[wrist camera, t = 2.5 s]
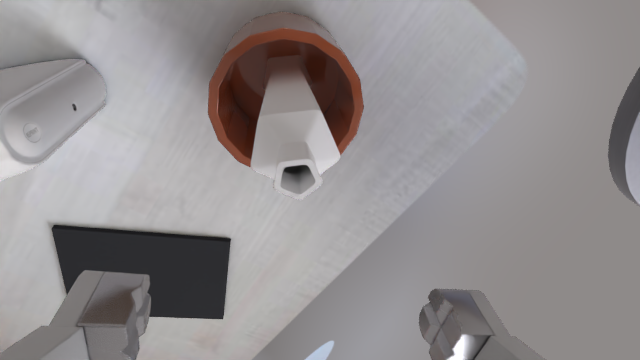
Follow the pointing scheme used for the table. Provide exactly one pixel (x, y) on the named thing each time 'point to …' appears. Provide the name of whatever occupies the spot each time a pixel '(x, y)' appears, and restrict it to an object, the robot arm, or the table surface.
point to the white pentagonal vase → (292, 131)
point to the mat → (152, 266)
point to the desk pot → (249, 73)
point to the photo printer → (44, 110)
